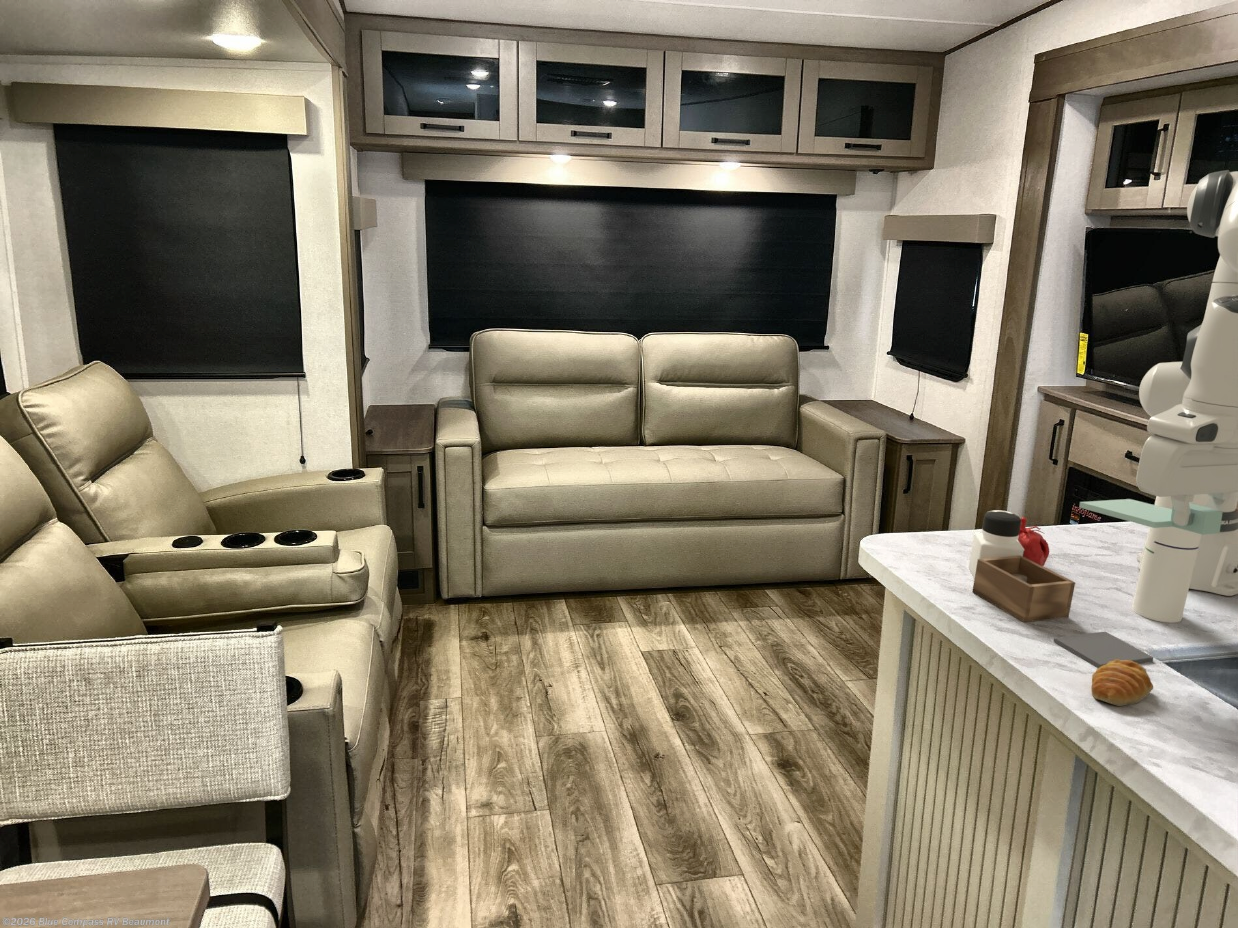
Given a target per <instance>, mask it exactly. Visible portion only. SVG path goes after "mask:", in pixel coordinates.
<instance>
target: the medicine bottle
mask: <svg viewBox="0 0 1238 928" xmlns="http://www.w3.org/2000/svg"><path fill="white" fill-rule="evenodd" d="M982 522H983V523H982V527H981V532H980V531H975V532H974V534H973V539H972V545H971V550H970V557H969V561H968V569H969V571H970V573H971V575H972V577H973V579H975V573H976V567H977V561H978V559H987V558H998V557H1010V556H1023V555H1024V548H1023V547H1022V545H1021V544H1020V542H1019V541H1018V537H1019V532H1020V526H1021V517H1020V516H1019V515H1016V514H1015V513H1013V512H1011V511H1006V510H998V509H997V510H996V509H995V510H990V511H987V512H986V513H984V515H983V521H982Z"/></svg>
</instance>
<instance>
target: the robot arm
mask: <svg viewBox="0 0 1238 928" xmlns="http://www.w3.org/2000/svg"><path fill="white" fill-rule="evenodd" d="M1186 207H1187V208H1186V214H1187V219H1188V222H1189V228H1191V230H1192V232H1193V233H1195V234H1197V235H1200V236H1204V237H1208V238H1213V239H1214V238H1215V237H1217V249H1218V250H1217V251H1218V253H1219V258H1218V261H1217V264H1216V267H1215V270H1214V274H1213V277H1212V281H1211V282H1212V283H1211V284H1210V285H1211V286H1210V291H1209V295H1208V298H1207V303H1206V309H1205V313H1204V316H1203V321H1202V323H1201V324H1200V325H1199V326H1196V327H1195V328H1194V329H1192V330H1190V331H1189V332H1188V333H1187V336H1186V344H1185V350H1184V354H1183V357H1182V361H1171V362H1159V363H1157V364H1155V365H1153V366H1152V367H1151V368H1150V369H1149V370H1147V372H1146V373H1145V375H1144V376H1143V377H1142V380H1140V381H1141V382H1140V385H1139V390H1138V391H1139V392H1138V396H1139V402H1140V404H1141V406H1142V409H1143V410H1144V411H1145V412H1146V413H1147V415H1149V416H1150V418H1149V419H1148V421H1147V425H1146V431H1147V432H1148V433H1150V434H1153V435H1150V436H1148V438H1147V439H1146V441H1145V442H1144V444H1143V446H1142V450H1141V452H1140V453H1141V454H1140V457H1139V461H1138V467H1137V472H1136V477H1135V478H1136V479H1135V480H1136V481H1135V482H1136V485H1137V488H1138V489H1139V491H1140V492H1143V493H1147V494H1149V495H1152V496H1155V497H1156V496H1158V497H1167V496H1171V500H1172V504H1173V507H1174V510H1175V513H1174V517H1173V522H1174V523H1175V524H1177V525H1180V526H1188V525H1192V524H1193V519H1194V516H1195V514H1194V513H1191V512H1190V506H1189V502H1192V501H1193V498H1194V495H1198V494H1208V495H1209V496H1210V498H1209V500H1208V501H1207V503H1206V505H1205V507H1207V508H1211V509H1216V510H1220V511H1223V512H1222V519H1221V526H1220V533H1217V534H1205V535H1201V539H1200V543H1199V546H1198V552H1197V556H1196V560H1195V564H1194V569H1193V573H1192V577H1191V582H1190V586H1189V589H1191V590H1197V591H1202V592H1203V591H1204V592H1209V593H1213V594H1217V595H1222V596H1228V597H1230V596H1234V595H1235V596H1236V595H1238V508H1237V504H1238V171H1237V170H1236V171H1230V170H1229V169H1226V170H1220V171H1214V172H1211V173H1208V174H1207V175H1205V176H1204V177H1202V178H1200V179H1199V181H1198V182H1197V184H1196V186H1195V187H1194V189H1193V190H1192V191H1191V194H1190V196H1189V198H1188V202H1187V206H1186ZM1146 541H1147V539H1146ZM1146 541H1145V544H1144V547H1143V550H1142V552H1138V554H1137V556H1136V559H1137V561H1138V562H1139V563H1138V565H1137V566H1138V569H1139V570H1140V569H1141V564H1142V560H1143V555H1144V550H1145V547H1146Z"/></svg>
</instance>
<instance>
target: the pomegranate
mask: <svg viewBox="0 0 1238 928" xmlns="http://www.w3.org/2000/svg"><path fill="white" fill-rule="evenodd" d="M1020 519H1021V526H1020V532H1019V537H1018V541H1019V542H1020V544H1021V545H1022V547H1023V548H1024V555H1023V557H1025V558H1027V559H1029V560H1031V561H1033V562H1035V563H1037V564H1039V565H1041V566H1043V567H1045V565H1046V562H1047V560H1048V558H1049V556H1050V546H1049V544H1048V542H1047V540H1046V539H1045V538H1044V537H1043V535H1042V534H1045V532H1043V531H1041V529H1042V528H1041V527H1040V528H1039V527H1038V526H1036V525H1034V526H1030V527H1026V524H1027V517H1025V516H1021V517H1020ZM1036 531H1037V532H1036ZM1039 532H1040V533H1042V534H1040V533H1039Z"/></svg>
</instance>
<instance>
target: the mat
mask: <svg viewBox="0 0 1238 928" xmlns="http://www.w3.org/2000/svg"><path fill="white" fill-rule="evenodd" d="M1052 642H1053V643H1055V644H1057V645H1059V646H1060V647H1062V648H1063V649H1065V650H1067V651H1069V652H1070V653H1073V654H1074V655H1076V656H1077V657H1078V658H1081V659H1082V660H1084V661H1086V662H1087V663H1090V664H1091V665H1093V666H1094V667H1096V668H1097V669H1098V668H1099V667H1101V666H1103V665H1106V664H1108V662H1110V661H1114V660H1115V659H1119V660H1131V661H1133V662H1135V663H1138V664H1141V663H1146V662H1147V663H1148V662H1153V661H1154V656H1152V655H1150V654H1148V653H1147V652H1144V651H1142V650H1140V649H1138V648H1137V647H1135V646H1134V645H1132V644H1129V642H1126V641H1125V640H1122V639H1120V638H1118V637H1117V636H1114V635H1113V634H1112V633H1109V632H1107V631H1100V632H1099V631H1098V632H1090V633H1083V634H1081V633H1080V634H1075V635H1066V636H1059V637H1054V638H1053V641H1052Z"/></svg>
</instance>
